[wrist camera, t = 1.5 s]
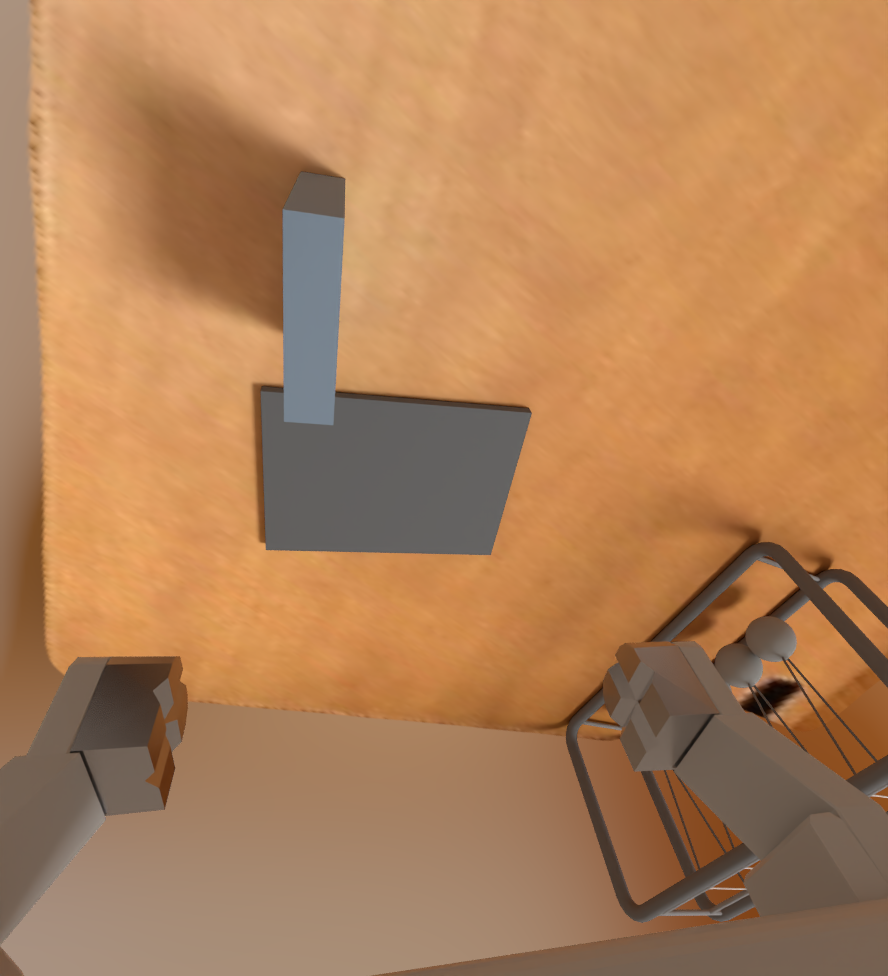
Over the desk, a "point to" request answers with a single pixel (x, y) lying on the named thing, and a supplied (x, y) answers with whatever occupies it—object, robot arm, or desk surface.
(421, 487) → the mat
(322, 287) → the tile
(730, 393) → the desk surface
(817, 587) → the newton's cradle
